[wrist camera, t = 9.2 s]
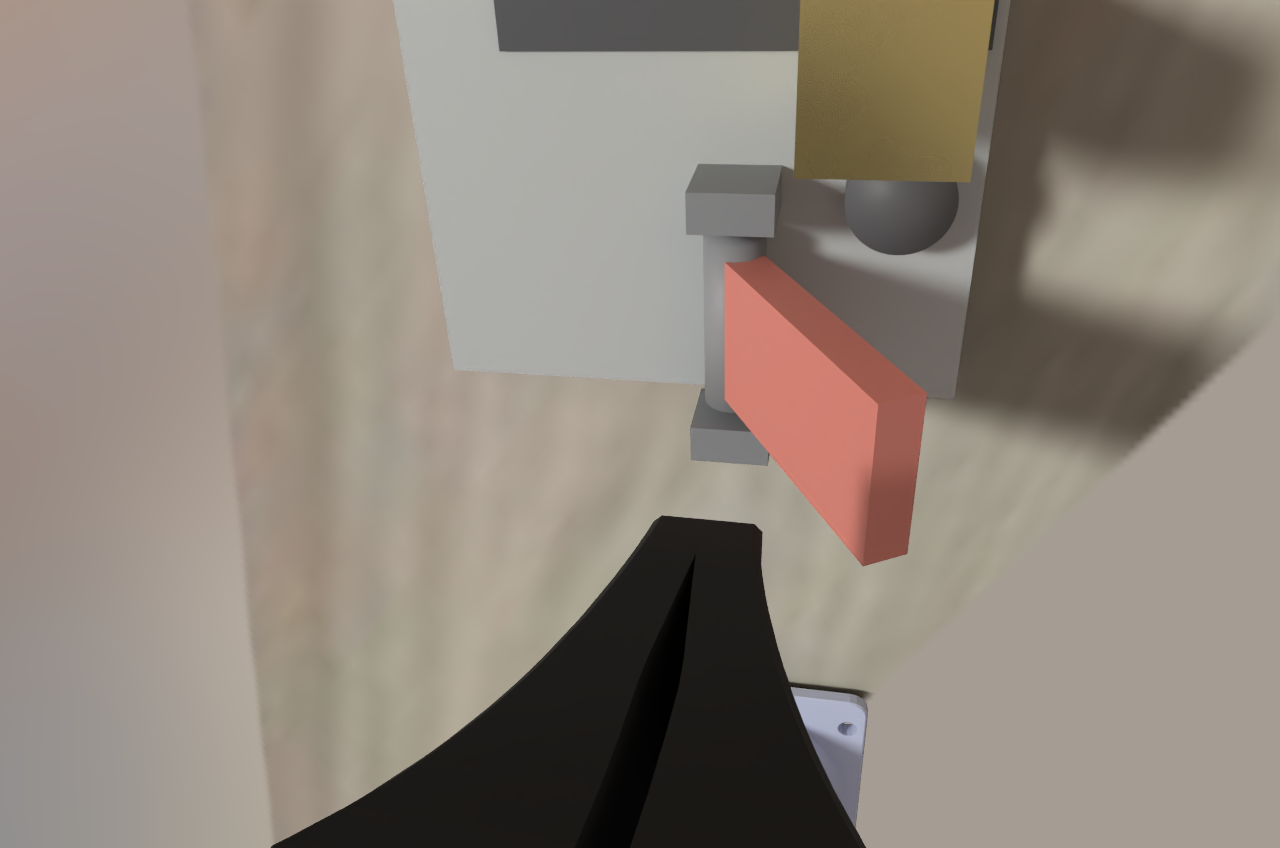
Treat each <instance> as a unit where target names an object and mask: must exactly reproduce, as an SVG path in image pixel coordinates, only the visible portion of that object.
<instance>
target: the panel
mask: <svg viewBox="0 0 1280 848" xmlns="http://www.w3.org/2000/svg"><path fill="white" fill-rule="evenodd" d="M1010 3H1011V0H995V1H994V9H993V16H992V24H991V31H990V39H989V46H988V54H987V61H986V69H985V76H984V84H983V91H982V99H981V106H980V114H979V121H978V129H977V136H976V144H975V151H974V159H973V166H972V174H971V181H970V182H929V181H881V180H833V179H794V156H795V129H796V102H797V75H798V48H799V21H800V0H393V4H394V10H395V16H396V22H397V28H398V34H399V40H400V46H401V52H402V58H403V65H404V71H405V77H406V83H407V89H408V95H409V101H410V107H411V113H412V119H413V125H414V131H415V137H416V143H417V149H418V156H419V162H420V168H421V174H422V180H423V186H424V192H425V198H426V204H427V210H428V216H429V222H430V228H431V234H432V240H433V247H434V253H435V259H436V265H437V271H438V277H439V283H440V289H441V295H442V301H443V307H444V313H445V319H446V325H447V332H448V338H449V344H450V350H451V356H452V362H453V368H454V370H466V371H483V372H499V373H516V374H533V375H550V376H566V377H583V378H600V379H616V380H633V381H650V382H667V383H683V384H700V385H705V355H704V275H703V235H708V236H739V237H767V238H766V257H767V258H768V259H769V260H771V261H772V262H773V263H774V264H775V265H776V266H778V267H779V268H780V269H781V270H782V271H784V272H785V273H786V274H787V275H788V276H789V277H791V278H792V279H793V280H794V281H795V282H797V283H798V284H799V285H800V286H801V287H802V288H804V289H805V290H806V291H807V292H808V293H810V294H811V295H812V296H813V297H814V298H815V299H817V300H818V301H819V302H820V303H821V304H823V305H824V306H825V307H826V308H827V309H828V310H830V311H831V312H832V313H833V314H834V315H836V316H837V317H838V318H839V319H840V320H841V321H843V322H844V323H845V324H846V325H847V326H849V327H850V328H851V329H852V330H853V331H854V332H856V333H857V334H858V335H859V336H860V337H862V338H863V339H864V340H865V341H866V342H867V343H869V344H870V345H871V346H872V347H873V348H875V349H876V350H877V351H878V352H879V353H880V354H882V355H883V356H884V357H885V358H886V359H888V360H889V361H890V362H891V363H892V364H893V365H895V366H896V367H897V368H898V369H899V370H901V371H902V372H903V373H904V374H905V375H906V376H908V377H909V378H910V379H911V380H912V381H914V382H915V383H916V384H917V385H918V386H919V387H921V388H922V389H923V390H924V391H925V392H927V398H934V399H951V400H954V398H955V391H956V384H957V377H958V370H959V363H960V356H961V349H962V342H963V335H964V328H965V321H966V314H967V307H968V299H969V292H970V285H971V278H972V271H973V264H974V257H975V250H976V243H977V236H978V229H979V222H980V215H981V208H982V200H983V193H984V186H985V179H986V172H987V165H988V158H989V151H990V144H991V137H992V130H993V123H994V116H995V109H996V101H997V94H998V87H999V80H1000V73H1001V66H1002V59H1003V52H1004V45H1005V38H1006V31H1007V24H1008V17H1009V10H1010ZM690 436H691V460H697V461H711V462H724V463H738V464H751V465H765V466H768V461H769V455H770V454H769V452H768V451H767V450H766V449H765V448H764V446H763V445H762V444H761V443H760V442H759V440H758V439H757V438H756V437H755V436H754V434H753V433H752V432H751V431H750V430H749V428H748V427H747V426H746V425H745V424H744V422H743V421H742V420H741V419H740V418H739V416H738V415H737V414H736V413H727V412H721V411H718V410H715V409H713V408H712V407H710V406H709V405H708V404H707V403H706V401H705V389H701V392H700V396H699V399H698V403H697V406H696V410H695V413H694V417H693V420H692V424H691V427H690Z"/></svg>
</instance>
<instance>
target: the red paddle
mask: <svg viewBox="0 0 1280 848" xmlns="http://www.w3.org/2000/svg"><path fill="white" fill-rule="evenodd" d="M766 238H767V237H739V236H708V235H703V275H704V355H705V401H706V403H707V404H708V405H709V406H710V407H712V408H713V409H715V410H718V411H721V412H727V413H736V414H737V415H738V416H739V418H740V419H741V420H742V421H743V422H744V424H745V425H746V426H747V427H748V428H749V430H750V431H751V432H752V433H753V434H754V436H755V437H756V438H757V439H758V440H759V442H760V443H761V444H762V445H763V446H764V448H765V449H766V450H767V451H768V452H769V454H770V455H771V456H772V457H773V459H774V460H775V461H776V462H777V463H778V465H779V466H780V467H781V468H782V469H783V471H784V472H785V473H786V474H787V475H788V477H789V478H790V479H791V480H792V481H793V483H794V484H795V485H796V486H797V487H798V489H799V490H800V491H801V492H802V493H803V495H804V496H805V497H806V498H807V499H808V501H809V502H810V503H811V504H812V506H813V507H814V508H815V509H816V510H817V512H818V513H819V514H820V515H821V516H822V518H823V519H824V520H825V521H826V522H827V524H828V525H829V526H830V527H831V528H832V530H833V531H834V532H835V533H836V534H837V536H838V537H839V538H840V539H841V540H842V542H843V543H844V544H845V545H846V546H847V548H848V549H849V550H850V551H851V553H852V554H853V555H854V556H855V557H856V559H857V560H858V561H859V562H860V563H861V565H862V566H866V565H869V564H873V563H876V562H880V561H884V560H887V559H891V558H894V557H898V556H901V555H905V554H907V552H908V544H909V536H910V527H911V519H912V511H913V503H914V495H915V487H916V479H917V471H918V463H919V455H920V447H921V439H922V431H923V423H924V415H925V407H926V399H927V392H925V391H924V390H923V389H922V388H921V387H919V386H918V385H917V384H916V383H915V382H914V381H912V380H911V379H910V378H909V377H908V376H906V375H905V374H904V373H903V372H902V371H901V370H899V369H898V368H897V367H896V366H895V365H893V364H892V363H891V362H890V361H889V360H888V359H886V358H885V357H884V356H883V355H882V354H880V353H879V352H878V351H877V350H876V349H875V348H873V347H872V346H871V345H870V344H869V343H867V342H866V341H865V340H864V339H863V338H862V337H860V336H859V335H858V334H857V333H856V332H854V331H853V330H852V329H851V328H850V327H849V326H847V325H846V324H845V323H844V322H843V321H841V320H840V319H839V318H838V317H837V316H836V315H834V314H833V313H832V312H831V311H830V310H828V309H827V308H826V307H825V306H824V305H823V304H821V303H820V302H819V301H818V300H817V299H815V298H814V297H813V296H812V295H811V294H810V293H808V292H807V291H806V290H805V289H804V288H802V287H801V286H800V285H799V284H798V283H797V282H795V281H794V280H793V279H792V278H791V277H789V276H788V275H787V274H786V273H785V272H784V271H782V270H781V269H780V268H779V267H778V266H776V265H775V264H774V263H773V262H772V261H771V260H769V259H768V258H767V257H766Z"/></svg>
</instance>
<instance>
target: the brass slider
mask: <svg viewBox="0 0 1280 848" xmlns="http://www.w3.org/2000/svg"><path fill="white" fill-rule="evenodd" d="M994 1H995V0H800V21H799V48H798V75H797V102H796V129H795V156H794V179H833V180H881V181H929V182H970V181H971V174H972V166H973V159H974V151H975V144H976V136H977V129H978V121H979V114H980V106H981V99H982V91H983V84H984V76H985V69H986V61H987V54H988V46H989V39H990V31H991V24H992V16H993V9H994Z"/></svg>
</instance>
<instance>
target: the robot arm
mask: <svg viewBox="0 0 1280 848" xmlns="http://www.w3.org/2000/svg"><path fill="white" fill-rule="evenodd" d="M761 555H762V531H761V530H760V529H759V528H758V527H757V526H756V525H755V524H748V523H737V522H726V521H715V520H705V519H694V518H683V517H672V516H661V517H659V518H658V519H657V520H655V521H654V522H653V524H652V525H651V527H650V528H649V530H648V531H647V533H646V534H645V536H644V537H643V539H642V540H641V542H640V543H639V545H638V546H637V547H636V549H635V550H634V552H633V553H632V554H631V556H630V557H629V558H628V560H627V561H626V562H625V564H624V565H623V566H622V568H621V569H620V570H619V572H618V573H617V574H616V575H615V577H614V578H613V579H612V581H611V582H610V583H609V584H608V585H607V587H606V588H605V589H604V590H603V591H602V593H601V594H600V595H599V596H598V597H597V599H596V600H595V601H594V602H593V603H592V605H591V606H590V607H589V608H588V609H587V611H586V612H585V613H584V614H583V615H582V616H581V618H580V619H579V620H578V621H577V622H576V623H575V624H574V625H573V626H572V627H571V628H570V630H569V631H568V632H567V633H566V634H565V635H564V636H563V637H562V638H561V639H560V640H559V641H558V642H557V643H556V644H555V645H554V646H553V647H552V649H551V650H550V651H549V652H548V653H547V654H546V655H545V656H544V657H543V658H542V659H541V660H540V661H539V662H538V663H537V664H536V665H535V666H534V667H533V668H532V669H531V670H530V671H529V672H528V673H527V674H526V675H524V676H523V677H522V678H521V679H520V680H519V681H518V682H517V683H516V684H515V685H514V686H513V687H511V688H510V689H509V690H508V691H507V692H506V693H505V694H503V695H502V696H501V697H500V698H499V699H498V700H497V701H496V702H494V703H493V704H492V705H491V706H490V707H489V708H487V709H486V710H485V711H484V712H482V713H481V714H480V715H479V716H477V717H476V718H475V719H474V720H472V721H471V722H470V723H469V724H467V725H466V726H465V727H464V728H462V729H461V730H460V731H458V732H457V733H456V734H455V735H453V736H452V737H451V738H450V739H448V740H447V741H446V742H444V743H443V744H441V745H440V746H439V747H437V748H436V749H435V750H433V751H432V752H430V753H429V754H428V755H426V756H425V757H423V758H422V759H420V760H419V761H417V762H416V763H414V764H413V765H411V766H410V767H408V768H407V769H405V770H404V771H402V772H401V773H399V774H398V775H396V776H394V777H393V778H391V779H390V780H388V781H387V782H385V783H384V784H382V785H381V786H379V787H378V788H376V789H375V790H373V791H372V792H370V793H368V794H367V795H365V796H363V797H362V798H360V799H359V800H357V801H355V802H354V803H352V804H350V805H348V806H347V807H345V808H343V809H341V810H339V811H337V812H335V813H334V814H332V815H330V816H328V817H326V818H324V819H322V820H320V821H319V822H317V823H315V824H313V825H311V826H309V827H307V828H306V829H304V830H302V831H300V832H298V833H296V834H294V835H292V836H291V837H289V838H287V839H285V840H283V841H281V842H278V843H276V844H274V845H273V846H271V848H866V847H865V845H864V843H863V841H862V839H861V838H860V836H859V834H858V832H857V830H856V829H855V826H856V817H857V808H858V799H859V790H860V781H861V771H862V761H863V753H864V743H865V735H866V725H867V712H868V711H867V710H868V709H867V704H866V702H865V701H864V700H863V699H862V698H860V697H859V696H857V695H853V694H847V693H839V692H830V691H821V690H812V689H804V688H795V687H790V684H789V681H788V678H787V675H786V672H785V670H784V667H783V663H782V660H781V657H780V653H779V650H778V647H777V643H776V639H775V635H774V631H773V627H772V623H771V619H770V615H769V611H768V606H767V601H766V596H765V590H764V584H763V577H762V568H761ZM846 722H848V723H852V724H844V723H846Z"/></svg>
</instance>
